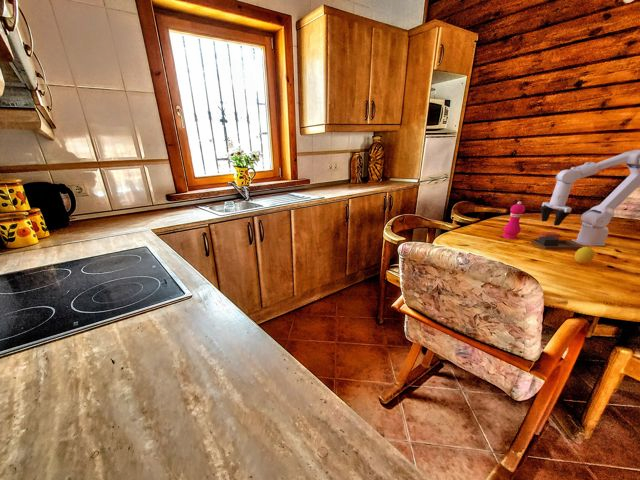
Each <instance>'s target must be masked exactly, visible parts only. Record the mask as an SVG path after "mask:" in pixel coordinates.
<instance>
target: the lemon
mask: <svg viewBox="0 0 640 480" xmlns="http://www.w3.org/2000/svg"><path fill="white" fill-rule="evenodd" d="M594 258H595V251H594V249H592V248H591V247H590V246H582V248H580V249H578V250H576V251H575V253H574V258H573V259H574V261H575V262H576V263H578V264H579V265H581V266H582V265H586V264H589V263H591V262H592V261H593V260H594Z"/></svg>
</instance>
